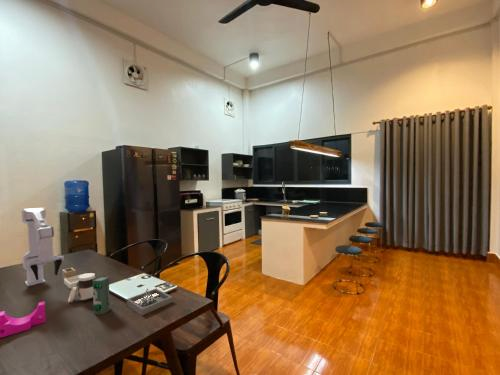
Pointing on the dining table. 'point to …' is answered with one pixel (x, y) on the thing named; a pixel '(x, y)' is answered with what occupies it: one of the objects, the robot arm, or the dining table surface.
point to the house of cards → (150, 299)
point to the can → (101, 295)
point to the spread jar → (83, 288)
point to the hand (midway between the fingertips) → (46, 277)
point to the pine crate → (68, 273)
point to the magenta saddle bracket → (21, 321)
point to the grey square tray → (146, 309)
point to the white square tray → (72, 281)
